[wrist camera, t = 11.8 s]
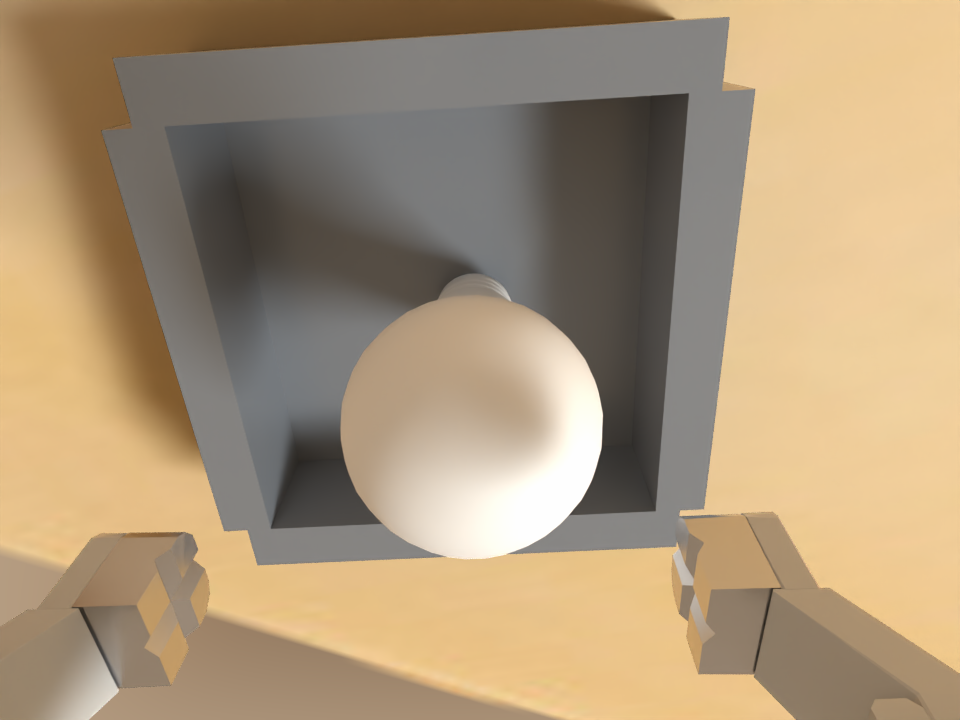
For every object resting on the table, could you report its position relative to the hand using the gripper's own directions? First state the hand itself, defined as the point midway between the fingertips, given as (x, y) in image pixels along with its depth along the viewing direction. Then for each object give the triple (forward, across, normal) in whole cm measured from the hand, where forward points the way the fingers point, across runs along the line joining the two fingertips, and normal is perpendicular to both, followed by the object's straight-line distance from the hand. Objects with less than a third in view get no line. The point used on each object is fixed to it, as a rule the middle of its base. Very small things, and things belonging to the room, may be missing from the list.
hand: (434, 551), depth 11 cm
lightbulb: (+13, 0, +1) cm, 13 cm away
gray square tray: (+13, 0, +1) cm, 13 cm away
